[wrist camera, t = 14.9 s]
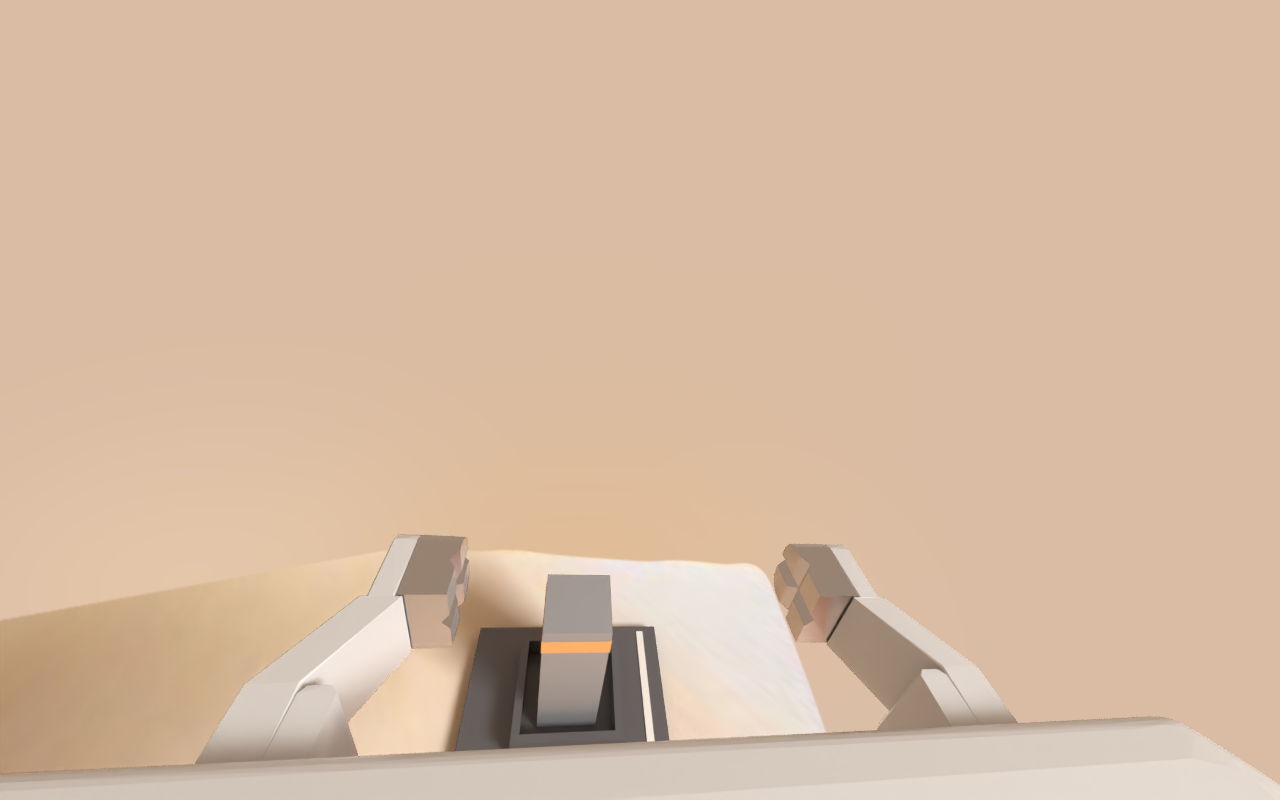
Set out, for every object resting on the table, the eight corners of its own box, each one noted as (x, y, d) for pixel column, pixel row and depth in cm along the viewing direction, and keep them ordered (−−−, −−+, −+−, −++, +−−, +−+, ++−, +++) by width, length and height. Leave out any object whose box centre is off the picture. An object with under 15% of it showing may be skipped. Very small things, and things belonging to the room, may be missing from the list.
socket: (447, 800, 31) (444, 780, 30) (481, 634, 41) (480, 614, 40) (672, 785, 34) (679, 767, 32) (652, 632, 44) (657, 613, 43)
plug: (535, 727, 35) (541, 634, 29) (541, 667, 39) (547, 573, 33) (595, 725, 35) (613, 634, 30) (594, 666, 39) (610, 574, 33)
